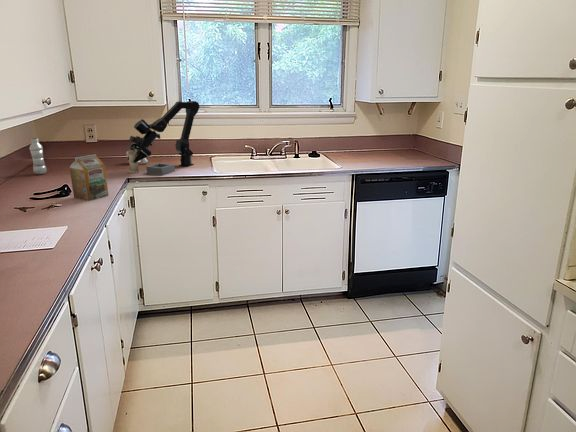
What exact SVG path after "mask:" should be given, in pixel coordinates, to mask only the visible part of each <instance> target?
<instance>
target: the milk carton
mask: <svg viewBox="0 0 576 432" xmlns="http://www.w3.org/2000/svg"><path fill="white" fill-rule="evenodd" d="M74 160H75V161H73V162H72V163H71V165H70V166H69V172H70V174H69V175H70V179H71V187H72V194H73V198H74V199H78V200H82V201H87V202H90V201H94V200H97V199H101V198H106V197H109V190H108V189H109V188H108V181H107V172H106V166H105V164H104V163H103V162H102V160H101V159H99V158H98V157H97V154H96V153H95V154H88V155H83V156H78V157H75V158H74Z"/></svg>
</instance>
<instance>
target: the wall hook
mask: <svg viewBox="0 0 576 432" xmlns="http://www.w3.org/2000/svg"><path fill="white" fill-rule="evenodd" d="M128 151H129V150H128ZM128 151H126V153H125V154H126V157H127V158H126V159H127V161H128V162H129V160H128V156H129V154H128ZM141 162H142V163H143V165H146V164H147V163H148V162H149V160H148V159H147V157H146V158H144V159H142V160H139V161H138V163H141Z"/></svg>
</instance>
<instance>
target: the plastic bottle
mask: <svg viewBox="0 0 576 432" xmlns="http://www.w3.org/2000/svg"><path fill="white" fill-rule="evenodd" d="M30 142H31V144H30V145H29V151H30V155H31V158H32V166H33V167H32V168H33V169H32V170H33V173H34V174H36V175H44V174H46V173H47V172H48V171H47V165H46V162H45V160H44V159H45V158H44V148H43V147H44V146H43V145H42V144H41V143H40V140H39V138H38V137H33V138H32V137H31V138H30Z"/></svg>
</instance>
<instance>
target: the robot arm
mask: <svg viewBox="0 0 576 432" xmlns="http://www.w3.org/2000/svg"><path fill="white" fill-rule="evenodd" d="M182 109H185V113H186V114H185V120H184V124H183V126H182V127H183V128H182V131H181V135H180V138H179V139H176V140H175V145H174V147H175V151H176V152H177V153H178V154H179V155H180V164H178V165H179V166H182V167H191V166H194V163H192V157H193V154H194V151H192V150H191V149H190V136H191V132H192V127H193V124H194V121H195V120H194V119H195V116H197V114H198V111H199V110H200V104H199V102H198V101H197V100H188V101H179V100H178V101H175V103H174V105H172V106H171V107H170V108H169V110H168V111H167V112H166V113H164V115H162V116H161V117H160V118H158V119H156V120H155V121H153V122H152V123H151V124H150V123H149V124H148V123H147V122H146V120H144V119H143V118H142V119H140V120H139V121H137V122H136V123H135V124H134V125H133V126H134V127H133V128H134V129H135V130H136V131H138V133H140V134H141V135H143V137H141V136H139V135H136V136H133V135H130V136H129V139H128V141H129V142H131V143H130V144H129V150H136V152H137V156H136V158H135V159H134V161H133V162H134V163H136V162H138V161H139V160H142V159H144V158H146V159H147V158H148V157H150V156H151V155H152V151H151V150H150V149H149V147H152V146H153V143H154V141H155V140H156V139H159V140H160V139H161V134H160V133H163V132H164V131H165V130H166V128H167V127H168V125H169V123H170V122H171V121H172V119H173V118H174V117H175V116H176V115H177V114H178V113H179V112H180V111H181V110H182ZM128 160H129V156H128V158H127V161H128ZM138 163H139V162H138Z"/></svg>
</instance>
